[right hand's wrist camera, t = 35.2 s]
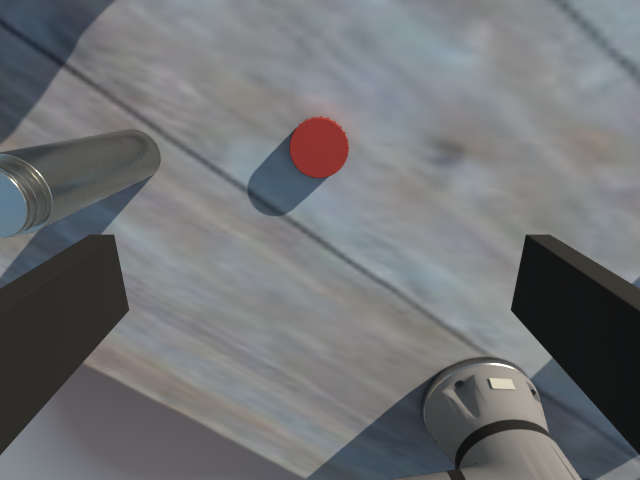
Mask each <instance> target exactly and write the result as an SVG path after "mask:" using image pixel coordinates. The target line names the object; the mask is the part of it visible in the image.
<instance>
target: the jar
mask: <svg viewBox="0 0 640 480" xmlns="http://www.w3.org/2000/svg"><path fill="white" fill-rule="evenodd" d="M159 165H160V152H159V149H158V147H157V145H156V143H155V142H154V141H153V139H152V138H151V137H149V136H148V135H147V134H145V133H143V132H141V131H138V130H124V131H118V132H112V133H107V134H101V135H96V136H90V137H84V138H79V139H73V140H67V141H62V142H56V143H51V144H45V145H39V146H34V147H28V148H22V149H17V150H11V151H6V152H0V238H8V237H14V236H16V235H19V234H28V233H33V232H36V231H38V230H40V229H42V228H44V227H46V226H48V225H50V224H53V223H55V222H57V221H59V220H61V219H63V218H65V217H67V216H69V215H71V214H73V213H76V212H78V211H80V210H82V209H84V208H86V207H88V206H90V205H92V204H94V203H96V202H99V201H101V200H103V199H105V198H107V197H109V196H111V195H113V194H115V193H117V192H119V191H122V190H124V189H126V188H128V187H130V186H132V185H134V184H136V183H138V182H140V181H142V180H145V179H147V178H149V177H151V176H152V175H153V174H154V173H155V172H156V171H157V170H158V168H159Z"/></svg>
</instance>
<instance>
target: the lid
mask: <svg viewBox="0 0 640 480" xmlns="http://www.w3.org/2000/svg"><path fill="white" fill-rule="evenodd" d="M294 131H295V132H294V133H293V135H292V136H291V141H290V144H289V145H290V155H291V158H292V161H293V163H294V164H295V166H296V167H297V168H298V169H299V170H300V171H301V172H302V173H304V174H305V175H307V176H310V177H314V178H324V177H328V176H331V175H333V174H335V173H336V172H337V171H338V170H340V169H341V167H342V166H343V165H344V163H345V161H346V159H347V156H348V149H349V147H348V139H347V138H346V135H345V134H346V133H345V132H343V130H342V129H341V126H339V125H338V124H337V123H336V122H335V121H332V120H330V119H329V118H323V117H321V116H320V117H315V118H314V117H313V118H311V119H308V120H307V119H306V121H304V122H303V123H300V124H299V126H298V128H297V129H295V130H294Z"/></svg>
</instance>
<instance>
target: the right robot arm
mask: <svg viewBox="0 0 640 480" xmlns="http://www.w3.org/2000/svg"><path fill="white" fill-rule="evenodd" d="M128 311H129V307H128V302H127V297H126V292H125V287H124V282H123V277H122V272H121V267H120V262H119V257H118V252H117V247H116V242H115V237H114V235H89V236H87V237H85V238H84V239H82V240H80V241H79V242H77V243H75V244H74V245H72V246H70V247H69V248H67V249H66V250H64V251H62V252H61V253H59V254H57V255H56V256H54V257H52V258H51V259H49V260H47V261H46V262H44V263H42V264H41V265H39V266H37V267H36V268H34V269H32V270H31V271H29V272H27V273H26V274H24V275H23V276H21V277H19V278H18V279H16V280H14V281H13V282H11V283H9V284H8V285H6V286H4V287H3V288H1V289H0V455H1V454H2V453H3V451H4V450H5V449H6V448H7V447H8V446H9V445H10V444H11V442H12V441H13V440H14V439H15V438H16V437H17V436H18V434H19V433H20V432H21V431H22V430H23V429H24V428H25V427H26V426H27V424H28V423H29V422H30V421H31V420H32V419H33V418H34V417H35V415H36V414H37V413H38V412H39V411H40V410H41V409H42V408H43V406H44V405H45V404H46V403H47V402H48V401H49V400H50V399H51V397H52V396H53V395H54V394H55V393H56V392H57V391H58V390H59V388H60V387H61V386H62V385H63V384H64V383H65V382H66V381H67V379H68V378H69V377H70V376H71V375H72V374H73V373H74V372H75V370H76V369H77V368H78V367H79V366H80V365H81V364H82V363H83V361H84V360H85V359H86V358H87V357H88V356H89V355H90V354H91V353H92V351H93V350H94V349H95V348H96V347H97V346H98V345H99V344H100V342H101V341H102V340H103V339H104V338H105V337H106V336H107V335H108V333H109V332H110V331H111V330H112V329H113V328H114V327H115V326H116V324H117V323H118V322H119V321H120V320H121V319H122V318H123V317H124V315H125V314H126V313H127V312H128ZM511 311H512V312H513V313H514V314H515V315H516V317H517V318H518V319H519V320H520V321H521V322H522V323H523V324H524V326H525V327H526V328H527V329H528V330H529V331H530V332H531V333H532V335H533V336H534V337H535V338H536V339H537V340H538V341H539V342H540V344H541V345H542V346H543V347H544V348H545V349H546V350H547V351H548V353H549V354H550V355H551V356H552V357H553V358H554V359H555V360H556V361H557V363H558V364H559V365H560V366H561V367H562V368H563V369H564V370H565V372H566V373H567V374H568V375H569V376H570V377H571V378H572V379H573V381H574V382H575V383H576V384H577V385H578V386H579V387H580V388H581V390H582V391H583V392H584V393H585V394H586V395H587V396H588V397H589V399H590V400H591V401H592V402H593V403H594V404H595V405H596V406H597V408H598V409H599V410H600V411H601V412H602V413H603V414H604V415H605V417H606V418H607V419H608V420H609V421H610V422H611V423H612V424H613V426H614V427H615V428H616V429H617V430H618V431H619V432H620V433H621V435H622V436H623V437H624V438H625V439H626V440H627V441H628V442H629V444H630V445H631V446H632V447H633V448H634V449H635V450H636V451H637V453H638V454H639V455H640V289H639V288H637V287H636V286H634V285H632V284H631V283H629V282H627V281H626V280H624V279H622V278H621V277H619V276H617V275H616V274H614V273H613V272H611V271H609V270H608V269H606V268H604V267H603V266H601V265H599V264H598V263H596V262H594V261H593V260H591V259H589V258H588V257H586V256H584V255H583V254H581V253H579V252H578V251H576V250H574V249H573V248H571V247H570V246H568V245H566V244H565V243H563V242H561V241H560V240H558V239H556V238H555V237H553V236H551V235H526V237H525V242H524V247H523V252H522V257H521V262H520V267H519V272H518V277H517V282H516V287H515V292H514V297H513V302H512V307H511ZM421 410H422V416H423V419H424V422H425V425H426V428H427V430H428V432H429V434H430V435H431V437H432V438H433V440H434V441H435V442H436V443H437V444H438V445H439V446H440V448H441V449H442V450H443V452H444V453H445V455H446V456H447V457H448V459H449V460H450V461H451V462H452V464H453V465H454V466H455V469H456V470H450V471H443V472H437V473H431V474H425V475H419V476H412V477H405V478H398V479H392V480H581V478H580V477H579V475H578V474H577V472H576V471H575V470H574V468H573V467H572V465H571V464H570V462H569V461H568V460H567V458H566V457H565V455H564V454H563V452H562V451H561V449H560V448H559V447H558V445H557V444H556V442H555V441H554V439H553V438H552V436H551V435H550V433H549V431H548V427H547V424H546V420H545V416H544V412H543V408H542V405H541V401H540V397H539V394H538V392H537V390H536V388H535V386H534V384H533V383H532V381H531V380H530V379H529V377H528V376H527V375H526V373H525V372H524V371H523V370H522V369H520V368H519V367H518V366H516V365H514V364H513V363H511V362H508V361H505V360H502V359H497V358H489V357H482V358H473V359H468V360H464V361H461V362H458V363H456V364H454V365H452V366H450V367H448V368H446V369H445V370H443V371H442V372H441V373H439V374H438V375H437V376H436V377H435V378H434V379H433V380H432V381H431V383H430V384H429V385H428V387H427V389H426V391H425V393H424V395H423V398H422V404H421Z"/></svg>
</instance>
